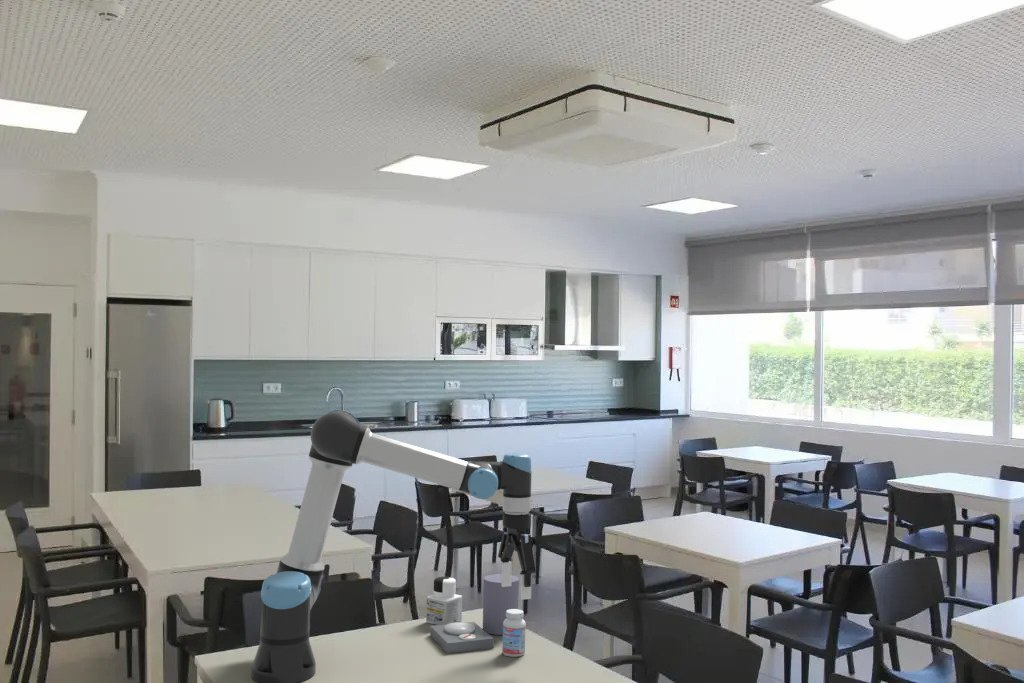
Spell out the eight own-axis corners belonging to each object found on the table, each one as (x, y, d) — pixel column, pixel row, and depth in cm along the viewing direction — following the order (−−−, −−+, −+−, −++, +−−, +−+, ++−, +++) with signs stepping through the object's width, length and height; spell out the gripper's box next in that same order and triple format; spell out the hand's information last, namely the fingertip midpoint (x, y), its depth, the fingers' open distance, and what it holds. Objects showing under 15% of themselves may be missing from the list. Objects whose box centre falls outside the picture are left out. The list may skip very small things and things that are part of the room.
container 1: (425, 622, 251) (426, 578, 252) (442, 616, 258) (443, 573, 258) (445, 627, 247) (446, 582, 247) (462, 621, 253) (463, 577, 254)
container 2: (490, 623, 252) (492, 572, 252) (523, 628, 248) (524, 576, 249) (476, 633, 242) (478, 580, 243) (510, 638, 239) (511, 584, 239)
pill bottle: (498, 655, 223) (499, 612, 224) (507, 648, 229) (508, 606, 230) (520, 659, 221) (521, 615, 222) (528, 652, 227) (529, 609, 227)
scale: (447, 653, 225) (447, 639, 225) (430, 635, 239) (430, 622, 240) (493, 648, 229) (493, 634, 230) (473, 630, 244) (473, 618, 244)
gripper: (549, 519, 216) (548, 603, 216) (512, 504, 239) (511, 580, 239) (521, 520, 214) (520, 605, 213) (487, 505, 237) (486, 582, 236)
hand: (515, 592), depth 226 cm, fingers open, 13 cm apart
